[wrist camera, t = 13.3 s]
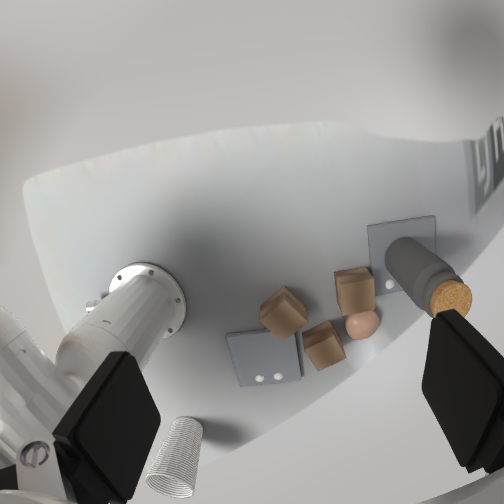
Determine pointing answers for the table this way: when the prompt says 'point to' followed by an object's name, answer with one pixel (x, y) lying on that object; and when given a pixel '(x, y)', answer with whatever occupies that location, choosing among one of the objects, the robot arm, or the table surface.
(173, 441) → the cup
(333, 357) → the block
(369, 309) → the block
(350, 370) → the table surface
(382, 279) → the pad three
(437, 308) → the bottle
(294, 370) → the pad two
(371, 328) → the peach glossy rounded part
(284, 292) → the block
